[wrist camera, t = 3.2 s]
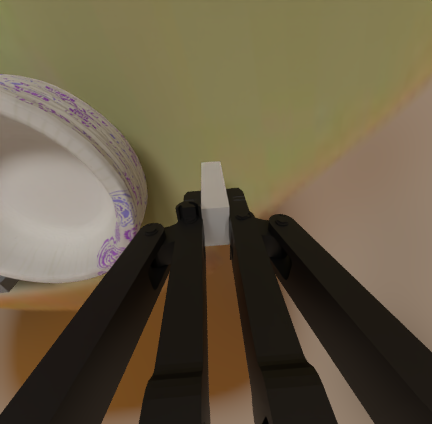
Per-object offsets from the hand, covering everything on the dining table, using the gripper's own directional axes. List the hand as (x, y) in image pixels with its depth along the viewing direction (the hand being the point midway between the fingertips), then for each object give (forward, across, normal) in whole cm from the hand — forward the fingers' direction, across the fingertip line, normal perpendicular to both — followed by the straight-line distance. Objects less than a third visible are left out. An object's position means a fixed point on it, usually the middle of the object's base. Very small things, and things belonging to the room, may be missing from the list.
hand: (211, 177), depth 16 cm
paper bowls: (+4, -13, 0) cm, 14 cm away
